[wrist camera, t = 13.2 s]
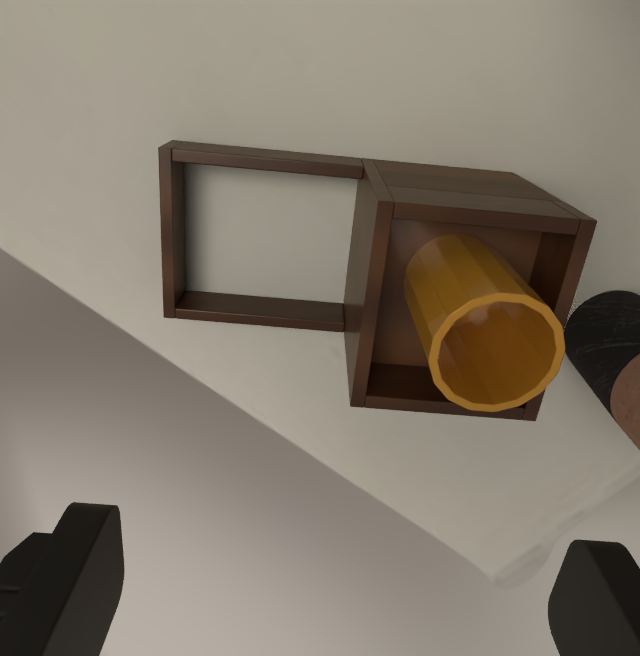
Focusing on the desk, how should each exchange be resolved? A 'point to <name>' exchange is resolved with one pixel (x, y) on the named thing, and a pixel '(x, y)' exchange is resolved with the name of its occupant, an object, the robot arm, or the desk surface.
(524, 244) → the organizer
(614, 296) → the travel mug
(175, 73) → the desk surface
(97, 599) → the robot arm
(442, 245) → the cup
